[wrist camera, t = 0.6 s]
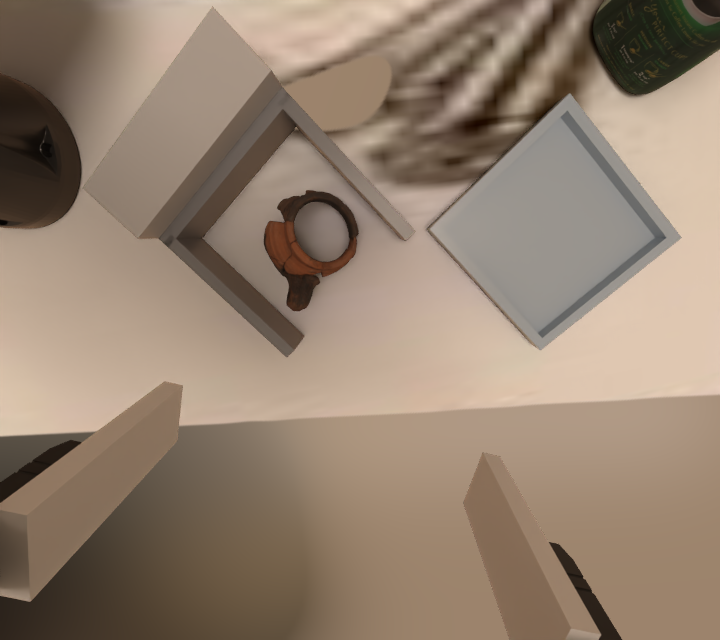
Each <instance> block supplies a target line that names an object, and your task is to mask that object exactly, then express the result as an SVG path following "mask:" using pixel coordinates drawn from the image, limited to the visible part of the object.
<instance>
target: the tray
mask: <svg viewBox="0 0 720 640" xmlns="http://www.w3.org/2000/svg"><path fill="white" fill-rule="evenodd" d="M426 230H427V231H428V232H429V233H430V234H431V235H432V236H433V237H434V238H435V239H436V241H437V242H438V243H439V244H440V245H441V246H442V247H443V248H444V249H445V250H446V251H447V253H448V254H449V255H450V256H451V257H452V258H453V259H454V260H455V261H456V262H457V263H458V265H459V266H460V267H461V268H462V269H463V270H464V271H465V272H466V273H467V274H468V275H469V277H470V278H471V279H472V280H473V281H474V282H475V283H476V284H477V285H478V286H479V287H480V289H481V290H482V291H483V292H484V293H485V294H486V295H487V296H488V297H489V298H490V299H491V301H492V302H493V303H494V304H495V305H496V306H497V307H498V308H499V309H500V310H501V311H502V313H503V314H504V315H505V316H506V317H507V318H508V319H509V320H510V321H511V322H512V323H513V325H514V326H515V327H516V328H517V329H518V330H519V331H520V332H521V333H522V334H523V335H524V337H525V338H526V339H527V340H528V341H529V342H530V343H531V344H532V345H533V346H535V347H536V348H538V349H539V350H542V349H543V348H544V347H545V346H547V345H548V344H549V343H550V342H552V341H553V340H554V339H555V338H557V337H558V336H559V335H560V334H562V333H563V332H564V331H565V330H567V329H568V328H569V327H570V326H572V325H573V324H574V323H575V322H577V321H578V320H579V319H580V318H582V317H583V316H584V315H585V314H587V313H588V312H589V311H590V310H592V309H593V308H594V307H595V306H597V305H598V304H599V303H600V302H602V301H603V300H604V299H606V298H607V297H608V296H609V295H611V294H612V293H613V292H614V291H616V290H617V289H618V288H619V287H621V286H622V285H623V284H624V283H626V282H627V281H628V280H629V279H631V278H632V277H633V276H634V275H636V274H637V273H638V272H639V271H641V270H642V269H643V268H644V267H646V266H647V265H648V264H649V263H651V262H652V261H653V260H654V259H656V258H657V257H658V256H659V255H661V254H662V253H663V252H664V251H666V250H667V249H668V248H669V247H671V246H672V245H673V244H674V243H676V242H677V241H678V240H679V239H681V238H682V237H681V236H680V235H679V234H678V232H677V231H676V230H675V228H674V227H673V226H672V225H671V223H670V222H669V221H668V219H667V218H666V217H665V216H664V214H663V213H662V212H661V210H660V209H659V208H658V206H657V205H656V204H655V203H654V201H653V200H652V199H651V197H650V196H649V195H648V194H647V192H646V191H645V190H644V188H643V187H642V186H641V185H640V183H639V182H638V181H637V179H636V178H635V177H634V175H633V174H632V173H631V172H630V170H629V169H628V168H627V166H626V165H625V164H624V163H623V161H622V160H621V159H620V157H619V156H618V155H617V154H616V152H615V151H614V150H613V148H612V147H611V146H610V144H609V143H608V142H607V141H606V139H605V138H604V137H603V135H602V134H601V133H600V132H599V130H598V129H597V128H596V126H595V125H594V124H593V122H592V121H591V120H590V119H589V117H588V116H587V115H586V113H585V112H584V111H583V110H582V108H581V107H580V106H579V104H578V103H577V102H576V101H575V99H574V98H573V97H572V95H571V94H570V93H569V94H568V95H567V96H565V97H564V98H563V99H561V100H560V101H559V102H557V103H556V104H555V105H554V106H553V107H552V108H551V109H550V110H549V111H548V112H547V113H546V114H545V115H544V116H543V117H542V118H541V119H540V120H539V121H538V122H537V123H536V124H535V125H533V126H532V127H531V128H530V129H529V130H528V131H527V132H526V133H525V134H524V135H523V136H522V137H521V138H520V139H519V140H518V141H517V142H516V143H515V144H514V145H513V146H512V147H511V148H510V149H509V150H508V151H507V152H506V153H505V154H504V155H503V156H502V157H501V158H499V159H498V160H497V161H496V162H495V163H494V164H493V165H492V166H491V167H490V168H489V169H488V170H487V171H486V172H485V173H484V174H483V175H482V176H481V177H480V178H479V179H478V180H477V181H476V182H475V183H474V184H473V185H472V186H471V187H470V188H469V189H468V190H467V191H465V192H464V193H463V194H462V195H461V196H460V197H459V198H458V199H457V200H456V201H455V202H454V203H453V204H452V205H451V206H450V207H449V208H448V209H447V210H446V211H445V212H444V213H443V214H442V215H441V216H440V217H439V218H438V219H437V220H436V221H435V222H434V223H433V224H431V225H430V226H429V227H428V228H427V229H426Z"/></svg>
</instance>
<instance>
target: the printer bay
mask: <svg viewBox="0 0 720 640" xmlns="http://www.w3.org/2000/svg"><path fill="white" fill-rule="evenodd" d="M295 127H297V128H298V129H299V130H300V131H301V132H302V133H303V134H304V136H305V137H306V138H307V139H308V140H309V141H310V142H311V143H312V144H313V145H314V146H315V147H316V148H317V149H318V151H319V152H320V153H321V154H322V155H323V156H324V157H325V158H326V159H327V160H328V161H329V162H330V163H331V164H332V165H333V167H334V168H335V169H336V170H337V171H338V172H339V173H340V174H341V175H342V176H343V177H344V178H345V179H346V180H347V182H348V183H349V184H350V185H351V186H352V187H353V188H354V189H355V190H356V191H357V192H358V193H359V194H360V195H361V196H362V198H363V199H364V200H365V201H366V202H367V203H368V204H369V205H370V206H371V207H372V208H373V209H374V210H375V211H376V212H377V214H378V215H379V216H380V217H381V218H382V219H383V220H384V221H385V222H386V223H387V224H388V225H389V226H390V227H391V229H392V230H393V231H394V232H395V233H396V234H397V235H398V236H399V237H400V238H401V239H402V240H405V241H406V240H408V239H409V238H410V237H411V236H412V235H413V234H414V233H415V232H416V231H415V230H414V229H413V228H412V227H411V226H410V225H409V224H408V223H407V222H406V221H405V220H404V218H403V217H402V216H401V215H400V214H399V213H398V212H397V211H396V210H395V209H394V208H393V207H392V205H391V204H390V203H389V202H388V201H387V200H386V199H385V198H384V197H383V196H382V195H381V194H380V192H379V191H378V190H377V189H376V188H375V187H374V186H373V185H372V184H371V183H370V182H369V181H368V179H367V178H366V177H365V176H364V175H363V174H362V173H361V172H360V171H359V170H358V169H357V168H356V166H355V165H354V164H353V163H352V162H351V161H350V160H349V159H348V158H347V157H346V156H345V155H344V153H343V152H342V151H341V150H340V149H339V148H338V147H337V146H336V145H335V144H334V143H333V142H332V140H331V139H330V138H329V137H328V136H327V135H326V134H325V133H324V132H323V131H322V130H321V129H320V127H318V125H317V124H316V123H315V122H314V121H313V120H312V119H311V118H310V117H309V116H308V114H307V113H305V111H304V110H303V109H302V108H301V107H300V106H299V105H298V104H297V103H296V101H295V100H294V99H293V98H292V97H291V96H290V95H289V94H288V93H287V92H286V91H285V90H284V88H283V87H282V86H281V85H280V83H279V81H278V80H277V78H276V77H275V75H274V74H273V72H272V70H271V69H270V68H269V67H268V66H267V65H266V64H265V63H264V62H263V61H262V60H261V58H260V57H259V56H258V55H257V54H256V53H255V52H254V51H253V50H252V49H251V48H250V47H249V45H248V44H247V43H246V42H245V41H244V40H243V39H242V38H241V37H240V36H239V35H238V33H237V32H236V31H235V30H234V29H233V28H232V27H231V26H230V25H229V24H228V23H227V22H226V20H225V19H224V18H223V17H222V16H221V15H220V14H219V13H218V12H217V11H216V10H215V9H214V7H212V8H211V9H210V11H209V12H208V14H207V15H206V16H205V18H204V19H203V21H202V22H201V23H200V25H199V26H198V28H197V29H196V30H195V32H194V33H193V35H192V36H191V37H190V39H189V40H188V42H187V43H186V44H185V46H184V47H183V48H182V50H181V51H180V53H179V54H178V55H177V57H176V58H175V60H174V61H173V62H172V64H171V65H170V67H169V68H168V69H167V71H166V72H165V74H164V75H163V76H162V78H161V79H160V81H159V82H158V83H157V85H156V86H155V88H154V89H153V90H152V92H151V93H150V95H149V96H148V97H147V99H146V100H145V102H144V103H143V104H142V106H141V107H140V109H139V110H138V111H137V113H136V114H135V116H134V117H133V118H132V120H131V121H130V122H129V124H128V125H127V127H126V128H125V129H124V131H123V132H122V134H121V135H120V136H119V138H118V139H117V141H116V142H115V143H114V145H113V146H112V148H111V149H110V150H109V152H108V153H107V155H106V156H105V157H104V159H103V160H102V162H101V163H100V164H99V166H98V167H97V169H96V170H95V171H94V173H93V174H92V176H91V177H90V178H89V180H88V181H87V183H86V184H85V185H84V187H83V189H84V190H85V191H86V192H87V193H88V194H89V195H91V196H92V197H93V198H94V199H95V200H96V201H97V202H98V203H99V204H100V205H101V206H103V207H104V208H105V209H106V210H107V211H108V212H109V213H110V214H111V215H112V216H113V217H115V218H116V219H117V220H118V221H119V222H120V223H121V224H122V225H123V226H124V227H125V228H126V229H128V230H129V231H130V232H131V233H132V234H133V235H134V236H135V237H136V238H137V239H153V238H159V239H160V240H161V241H162V242H163V243H164V244H165V245H166V246H167V247H168V248H170V249H171V250H172V251H173V252H174V253H175V254H176V255H177V256H178V257H179V258H180V259H181V260H182V261H184V262H185V263H186V264H187V265H188V266H189V267H190V268H191V269H192V270H193V271H194V272H195V273H196V274H198V275H199V276H200V277H201V278H202V279H203V280H204V281H205V282H206V283H207V284H208V285H209V286H210V287H211V288H213V289H214V290H215V291H216V292H217V293H218V294H219V295H220V296H221V297H222V298H223V299H224V300H225V301H227V302H228V303H229V304H230V305H231V306H232V307H233V308H234V309H235V310H236V311H237V312H238V313H239V314H241V315H242V316H243V317H244V318H245V319H246V320H247V321H248V322H249V323H250V324H251V325H252V326H253V327H254V328H256V329H257V330H258V331H259V332H260V333H261V334H262V335H263V336H264V337H265V338H266V339H267V340H268V341H270V342H271V343H272V344H273V345H274V346H275V347H276V348H277V349H278V350H279V351H280V352H281V353H282V354H284V355H285V356H286V357H288V356H289V355H290V354H291V353H292V352H293V351H294V350H295V349H296V347H297V346H298V344H299V343H300V342H301V340H302V339H303V337H304V335H303V334H302V333H301V332H300V331H299V330H297V329H296V328H295V327H294V326H293V325H292V324H291V323H290V322H289V321H288V320H287V319H286V318H285V317H284V316H283V315H282V314H281V313H280V312H279V311H278V310H276V309H275V308H274V307H273V306H272V305H271V304H270V303H269V302H268V301H267V300H266V299H265V298H264V297H263V296H262V295H261V294H260V293H259V292H258V291H257V290H255V289H254V288H253V287H252V286H251V285H250V284H249V283H248V282H247V281H246V280H245V279H244V278H243V277H242V276H241V275H240V274H239V273H238V272H237V271H236V270H234V269H233V268H232V267H231V266H230V265H229V264H228V263H227V262H226V261H225V260H224V259H223V258H222V257H221V256H220V255H219V254H218V253H217V252H216V251H215V250H213V249H212V248H211V247H210V246H209V245H208V244H207V243H206V242H205V241H204V240H203V239H202V237H203V236H204V235H205V233H206V232H207V231H208V230H209V229H210V228H211V226H212V225H213V224H214V223H215V222H216V220H217V219H218V218H219V217H220V216H221V215H222V213H223V212H224V211H225V210H226V209H227V207H228V206H229V205H230V204H231V203H232V202H233V200H234V199H235V198H236V197H237V196H238V195H239V193H240V192H241V191H242V190H243V189H244V187H245V186H246V185H247V184H248V183H249V182H250V180H251V179H252V178H253V177H254V176H255V174H256V173H257V172H258V171H259V170H260V169H261V167H262V166H263V165H264V164H265V163H266V161H267V160H268V159H269V158H270V157H271V156H272V154H273V153H274V152H275V151H276V150H277V148H278V147H279V146H280V145H281V144H282V143H283V141H284V140H285V139H286V138H287V137H288V136H289V134H290V133H291V132H292V131H293V130H294V128H295Z"/></svg>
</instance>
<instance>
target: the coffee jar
mask: <svg viewBox="0 0 720 640" xmlns="http://www.w3.org/2000/svg"><path fill="white" fill-rule="evenodd" d="M593 35H594V39H595V43H596V45H597V48H598V50H599V52H600V54H601V57H602V59H603V61H604V62H605V64H606V65H607V67H608V69H609V71H610V72H611V74H612V75H613V76H614V78H615V79H616V81H617V82H618V83H619V84H620V85H621V87H622V88H623V89H625V90H626V91H628V92H630V93H632V94H647V93H650V92H653V91H655V90H657V89H659V88H661V87H662V86H664V85H666V84H668V83H669V82H671V81H673V80H674V79H676V78H678V77H679V76H681V75H682V74H684V73H685V72H687V71H688V70H690V69H691V68H693V67H694V66H696V65H697V64H699V63H700V62H702V61H703V60H705V59H706V58H708V57H709V56H711V55H712V54H713V53H715V52H716V51H718V50H719V49H720V0H604V2H603V3H602V4H601V6H600V8H599V9H598V11H597V14H596V16H595V19H594V25H593Z"/></svg>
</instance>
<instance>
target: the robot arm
mask: <svg viewBox="0 0 720 640" xmlns="http://www.w3.org/2000/svg"><path fill="white" fill-rule="evenodd" d="M79 181H80V161H79V155H78V150H77V147H76V143H75V140H74V138H73V135H72V133H71V131H70V129H69V127H68V125H67V123H66V122H65V120H64V118H63V117H62V116H61V114H60V113H59V112H58V110H57V109H56V108H55V107H54V106H53V104H52V103H51V102H50V101H49V100H48V99H47V98H45V97H44V96H43V95H42V94H41V93H39V92H38V91H37V90H35V89H34V88H32V87H30V86H29V85H27V84H25V83H23V82H20V81H18V80H16V79H13V78H11V77H9V76H6V75H4V74H2V73H0V227H3V228H25V229H31V228H39V227H43V226H46V225H49V224H51V223H53V222H55V221H56V220H58V219H59V218H61V217H62V216H63V215H64V214H65V213H66V212H67V210H68V209H69V208H70V206H71V205H72V203H73V201H74V199H75V197H76V194H77V191H78V187H79ZM182 388H183V385H178V384H174V383H169V382H163V383H162V384H161V385H159V386H158V387H157V388H155V389H154V390H153V391H151V392H150V393H148V394H147V395H146V396H144V397H143V398H142V399H140V400H139V401H138V402H136V403H135V404H134V405H132V406H131V407H130V408H128V409H127V410H126V411H124V412H123V413H121V414H120V415H119V416H117V417H116V418H115V419H113V420H112V421H111V422H109V423H108V424H107V425H105V426H104V427H103V428H101V429H100V430H98V431H97V432H96V433H94V434H93V435H92V436H90V437H89V438H88V439H86V440H85V441H84V442H77V441H73V440H70V441H67V442H65V443H62V444H60V445H57V446H55V447H53V448H50V449H49V450H47V451H46V452H44V453H43V454H41V455H40V456H38V457H37V458H35V459H34V460H33V461H32V463H28V464H27V465H25V466H24V467H22V468H21V469H19V471H18V472H17V473H14V474H12V475H11V476H9V477H8V478H6V479H5V480H4V481H2V482H0V596H5V597H10V598H15V599H20V600H25V601H31V600H32V599H33V598H34V597H35V596H36V595H37V594H38V593H39V592H40V590H41V589H42V588H43V587H44V586H45V585H46V584H47V583H48V582H49V580H50V579H51V578H52V577H53V576H54V575H55V574H56V573H57V572H58V571H59V570H60V568H61V567H62V566H63V565H64V564H65V563H66V562H67V561H68V560H69V559H70V558H71V557H72V555H73V554H74V553H75V552H76V551H77V550H78V549H79V548H80V547H81V546H82V544H83V543H84V542H85V541H86V540H87V539H88V538H89V537H90V536H91V535H92V534H93V532H94V531H95V530H96V529H97V528H98V527H99V526H100V525H101V524H102V522H103V521H104V520H105V519H106V518H107V517H108V516H109V515H110V514H111V513H112V512H113V510H114V509H115V508H116V507H117V506H118V505H119V504H120V503H121V502H122V501H123V500H124V499H125V497H126V496H127V495H128V494H129V493H130V492H131V491H132V490H133V489H134V487H135V486H136V485H137V484H138V483H139V482H140V481H141V480H142V479H143V477H145V476H146V474H147V473H148V472H149V471H150V470H151V469H152V468H153V467H154V466H155V465H156V463H157V462H158V461H159V460H160V459H161V458H162V457H163V456H164V455H165V454H166V452H167V451H168V450H169V449H170V448H171V447H172V446H173V445H174V444H175V443H176V442H177V438H178V428H179V418H180V408H181V398H182ZM463 504H464V507H465V510H466V513H467V516H468V518H469V522H470V525H471V528H472V531H473V534H474V537H475V539H476V542H477V545H478V548H479V551H480V554H481V557H482V560H483V563H484V566H485V569H486V572H487V575H488V578H489V581H490V584H491V587H492V590H493V592H494V596H495V599H496V601H497V604H498V607H499V610H500V613H501V616H502V619H503V622H504V625H505V628H506V631H507V634H508V637H509V640H622V639H621V637H620V635H619V634H618V632H617V631H616V629H615V627H614V626H613V624H612V622H611V621H610V619H609V617H608V616H607V614H606V613H605V611H604V609H603V608H602V606H601V604H600V603H599V601H598V600H597V598H596V596H595V595H594V594H593V593H592V590H591V588H590V586H589V585H588V583H587V582H586V580H585V579H583V575H582V574H581V572H580V570H579V569H578V567H577V565H576V564H575V562H574V560H573V559H572V558H571V557H570V556H569V555H568V554H567V553H566V552H565V550H564V549H563V548H562V547H561V546H560V545H559V544H556V543H551V542H548V540H547V538H546V537H545V535H544V533H543V531H542V530H541V528H540V526H539V524H538V523H537V521H536V519H535V517H534V516H533V514H532V512H531V510H530V508H529V507H528V505H527V503H526V501H525V500H524V498H523V496H522V494H521V493H520V491H519V489H518V487H517V486H516V484H515V482H514V480H513V479H512V477H511V475H510V473H509V472H508V470H507V468H506V466H505V465H504V463H503V461H502V460H501V458H500V456H497V455H492V454H488V453H482V456H481V458H480V461H479V464H478V466H477V469H476V471H475V474H474V477H473V479H472V481H471V484H470V487H469V489H468V492H467V495H466V497H465V500H464V502H463Z"/></svg>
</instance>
